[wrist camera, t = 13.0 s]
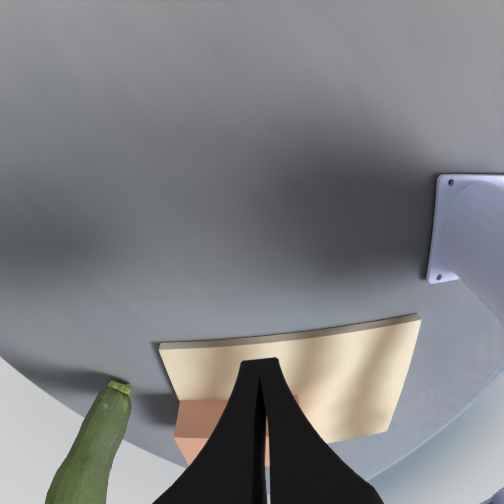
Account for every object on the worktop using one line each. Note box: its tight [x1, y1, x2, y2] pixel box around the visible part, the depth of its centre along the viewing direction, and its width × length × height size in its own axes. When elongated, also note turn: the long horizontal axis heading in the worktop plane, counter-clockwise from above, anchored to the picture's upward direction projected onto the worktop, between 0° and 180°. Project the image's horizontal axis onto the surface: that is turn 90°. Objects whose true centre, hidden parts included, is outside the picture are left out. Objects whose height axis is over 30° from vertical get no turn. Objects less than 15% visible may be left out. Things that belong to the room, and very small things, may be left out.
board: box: [159, 314, 421, 443], centre depth 25 cm, size 20×16×3 cm
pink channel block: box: [174, 395, 300, 466], centre depth 24 cm, size 10×6×4 cm, turn 95°
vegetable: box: [45, 380, 132, 504], centre depth 16 cm, size 4×4×20 cm
